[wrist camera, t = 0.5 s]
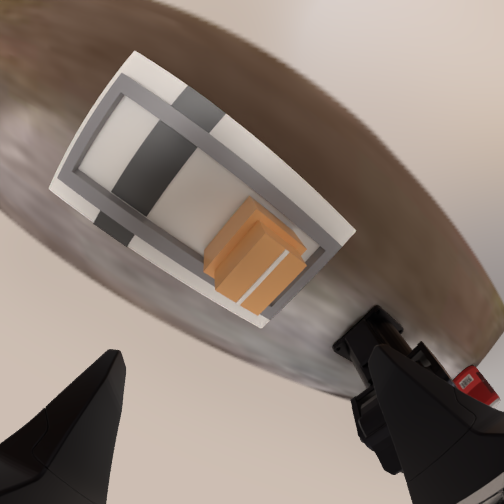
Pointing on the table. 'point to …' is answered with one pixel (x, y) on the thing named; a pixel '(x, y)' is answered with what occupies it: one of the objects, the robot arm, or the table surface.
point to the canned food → (476, 386)
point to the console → (185, 180)
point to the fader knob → (253, 257)
